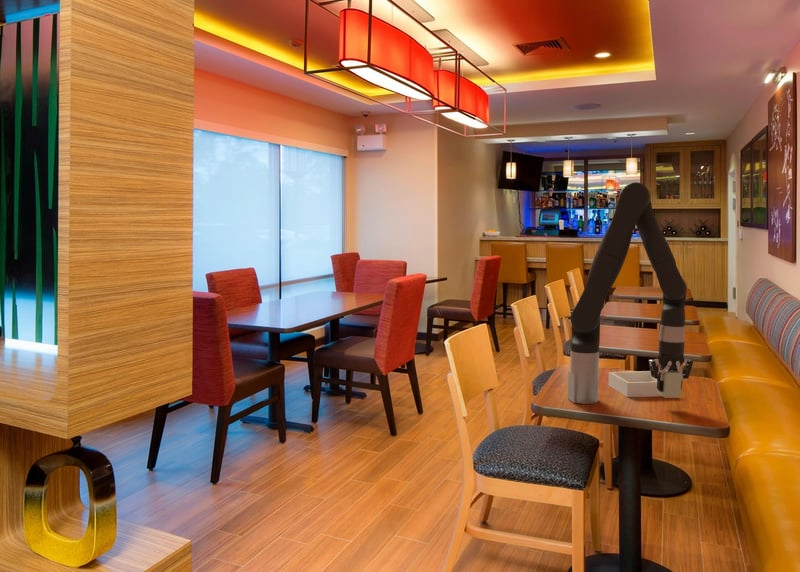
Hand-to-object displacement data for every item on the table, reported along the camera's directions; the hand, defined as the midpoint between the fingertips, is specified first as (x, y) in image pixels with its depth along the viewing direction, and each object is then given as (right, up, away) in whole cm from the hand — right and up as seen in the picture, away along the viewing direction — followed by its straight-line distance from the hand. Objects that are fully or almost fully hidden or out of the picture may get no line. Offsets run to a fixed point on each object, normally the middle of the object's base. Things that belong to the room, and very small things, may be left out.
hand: (669, 391), depth 198 cm
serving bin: (-1, -4, +22) cm, 23 cm away
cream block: (0, -1, 0) cm, 1 cm away
